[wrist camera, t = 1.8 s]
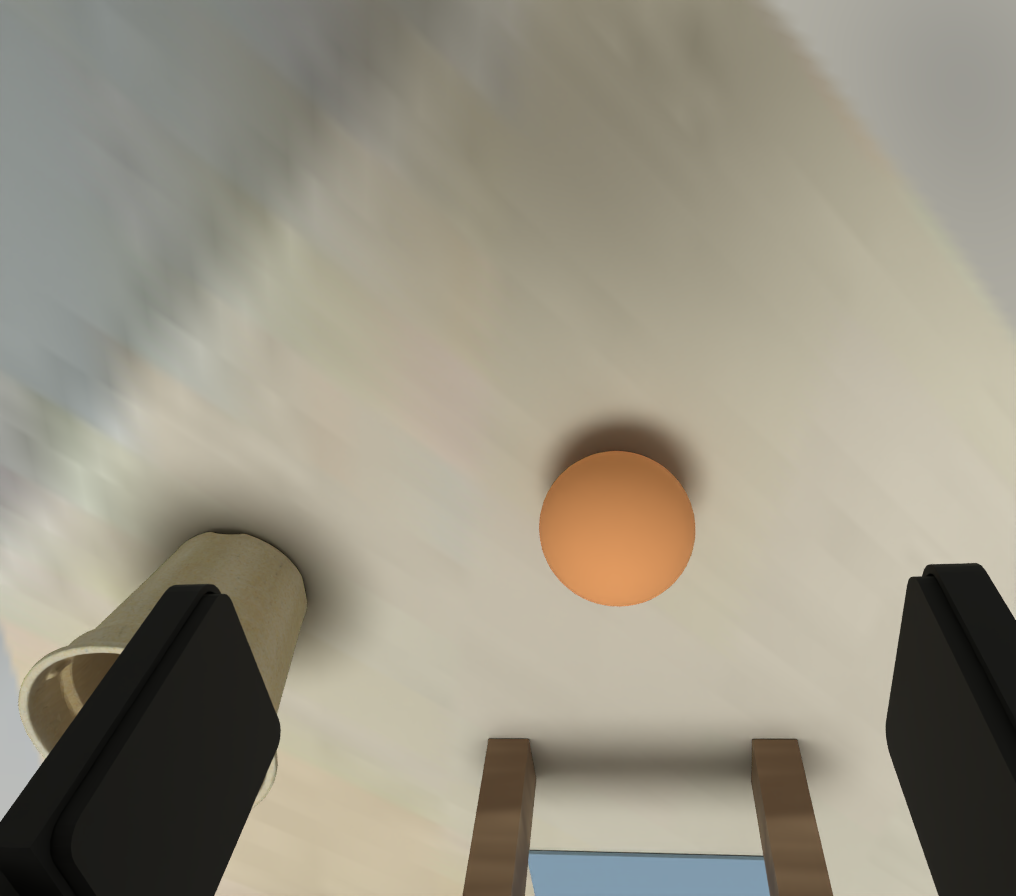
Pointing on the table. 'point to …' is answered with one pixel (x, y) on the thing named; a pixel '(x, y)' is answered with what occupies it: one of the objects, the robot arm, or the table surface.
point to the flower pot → (201, 560)
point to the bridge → (778, 803)
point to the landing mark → (646, 874)
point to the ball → (617, 528)
